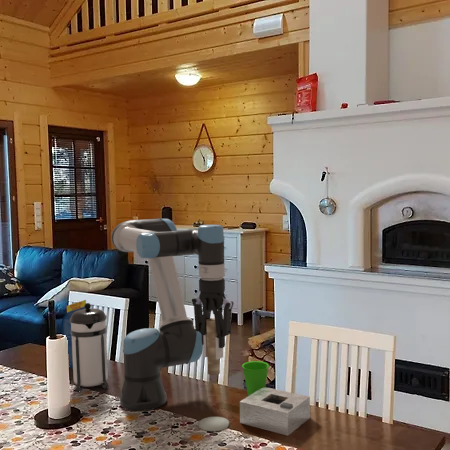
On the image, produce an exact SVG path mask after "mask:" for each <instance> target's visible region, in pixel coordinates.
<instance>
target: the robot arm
mask: <svg viewBox="0 0 450 450" xmlns="http://www.w3.org/2000/svg"><path fill="white" fill-rule="evenodd" d="M224 233H225V232H224V227H223V226H222V225H221V224H201V225H199V226H198V228H188V229H184V230H178V229H177V227H176V225H175V223H174V222H173V221H172V220H171V219H169V218H159V217H157V218H150V219H149V218H148V219H147V218H146V219H129V220H126V221H123V222H121V223H119V224H117V225H116V226H115V227H114V228H113V230H112V231H111V236H110V241H111V244H112V245H113V247H114V248H115V249H116V250H118V251H120V252H124V253H137V255H138V257H139V258H140V259H146V260H147V261H149V267H150V270H151V275H152V279H153V283H154V288H155V292H156V293H155V294H156V298H157V301H158V302H157V303H158V307H159V312H160V317H161V321H162V323H161V325H160V326H159V329H157V328H154V327H149V328H146V327H145V328H140V329H136V330H134V331H131V332H129V333H128V334H126V335H125V337H124V338H123V344H122V354H123V369H124V370H123V371H124V372H123V373H124V381H123V386H122V389H121V393H120V397H119V403H120V406H121V407H122V408H123V409H125V410H128V411H137V412H142V411H149V410H154V409H157V408H160V407H162V406H164V405H165V404H166V402H167V392H166V390H165V388H164V384H163V381H162V378H161V369H163V368H170V367H174V366H176V367H177V366H181V365H188V364H190V363H195V362H198V361H199V360H200V359H201V357H202V354H203V357H204V358H207V322H206V320H207V319H209V318H211V315H212V314H213V316H214V317H213V318H215V323H216V329H217V334H218V336H216V337H215V342H216V359H217V360H218V359H222V358H224V348H225V346H226V337H227V336H228V335H231V334H232V333H231V332H232V313H233V311H232V309H233V307H234V301H229V300H228V299H226V295H225V290H226V281H225V280H226V279H225V278H224V277H225V276H226V274H225V273H226V271H225V268H226V267H225V235H224ZM192 255H197V256H198V277H199V279H198V291H199V292H200V293H199V295H198V296H197V297H194V298H192V299H191V302H192V306H193V313H194V321H193V320H192V319H191V318H189V317H188V315H187V312H186V308H185V302H184V299H183V295H182V291H181V285H180V281H179V278H178V274H177V269H176V265H175V260H174V257H181V256H192ZM193 322H194V323H193ZM194 325H195V326H194Z"/></svg>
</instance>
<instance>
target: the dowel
mask: <svg viewBox="0 0 450 450" xmlns="http://www.w3.org/2000/svg"><path fill="white" fill-rule="evenodd" d="M206 322H207V357H206V359H207V374H208V375H209V376H218V375H220V374H221V369H220V368H221V366H220V365H221V363H220V362H221V361H220V359H221V358H220V359H218V360H217V359H216V342H215V337H216V336H218V334H217V329H216V323H215V317H210V318H209V319H207V320H206Z"/></svg>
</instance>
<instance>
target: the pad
mask: <svg viewBox="0 0 450 450" xmlns="http://www.w3.org/2000/svg"><path fill="white" fill-rule="evenodd" d="M228 427H230V421H229V419H227V418H225V417H222V416H208V417H205V418H202V419H201V420H199V421H198V428H199V429H201V430H203V431H205V432H221V431H224V430H226V429H227V428H228Z"/></svg>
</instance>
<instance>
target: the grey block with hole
mask: <svg viewBox="0 0 450 450" xmlns="http://www.w3.org/2000/svg"><path fill="white" fill-rule="evenodd" d="M309 419H311V396H308V395H303V394H300V393H299V394H298V393H293V392H291V391H290V392H289V391H285V390H282V389H281V390H280V389H276V388H271V387H267V386H266V387H263V388H261V389H259V390H258V391H256V392H254V393H253V394H251V395H250V396H248V395H247V396H246V397H245V398H243V399H241V400H240V401H239V423H240V424H243V425H246V426H250V427H254V428H258V429H262V430H266V431H268V432H272V433H276V434H280V435H284V436H287V437H289V435H291V434H292V433H294V431H296V429H298V428H300V427H301V426H302V425H303V424H305V423H306V422H307V421H308V420H309Z"/></svg>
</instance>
